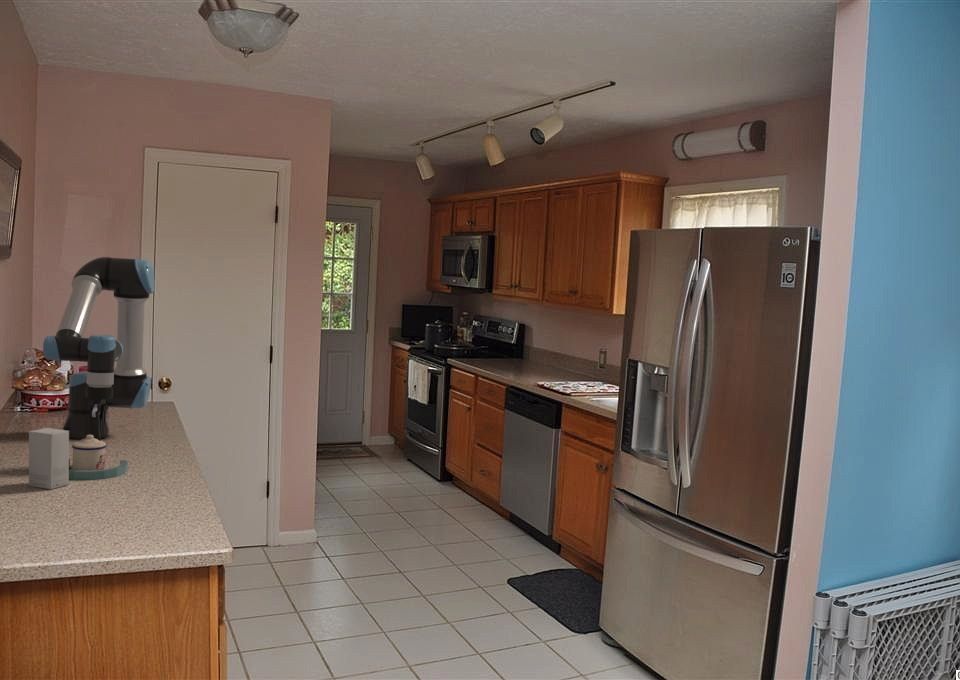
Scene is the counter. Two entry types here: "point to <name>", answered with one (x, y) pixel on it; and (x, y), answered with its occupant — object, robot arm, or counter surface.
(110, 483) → the counter surface
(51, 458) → the skincare box
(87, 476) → the open curved ring
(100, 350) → the robot arm
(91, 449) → the teacup with lid
